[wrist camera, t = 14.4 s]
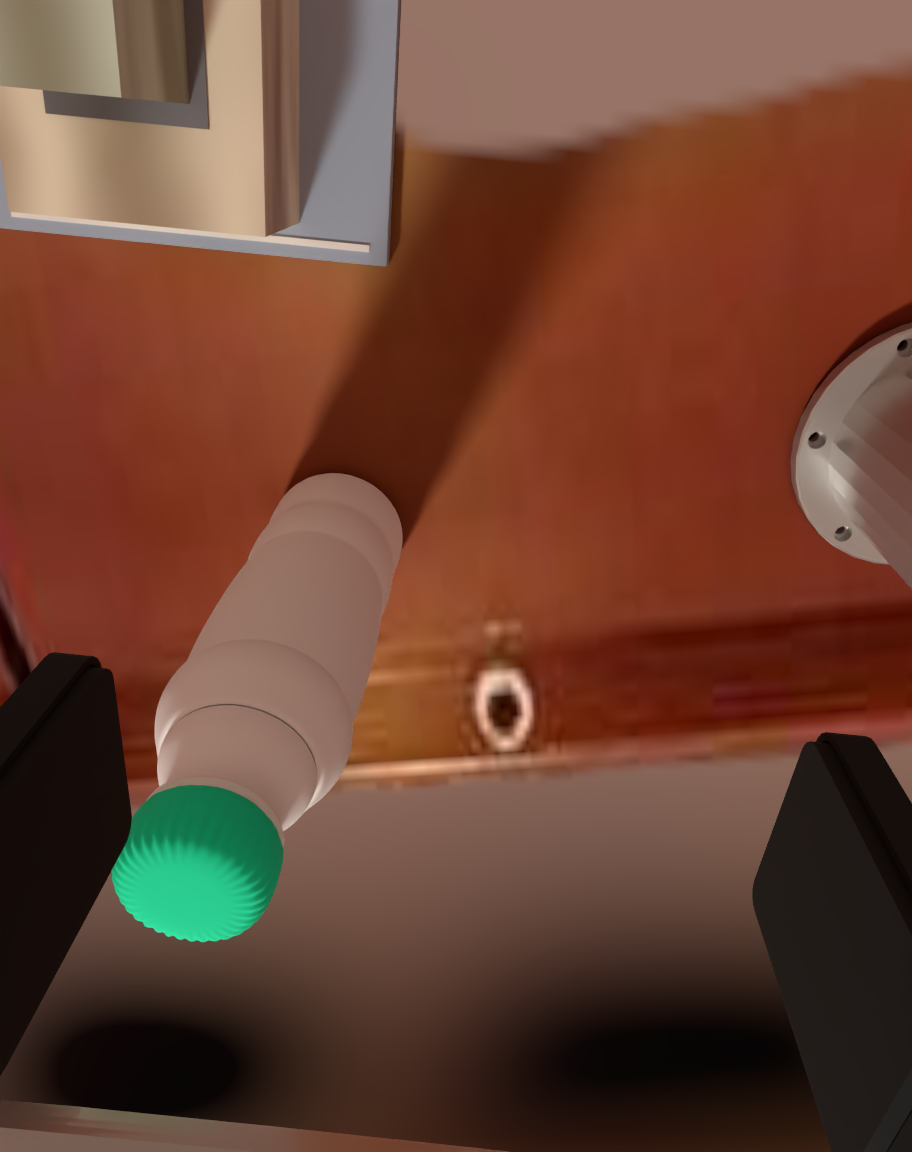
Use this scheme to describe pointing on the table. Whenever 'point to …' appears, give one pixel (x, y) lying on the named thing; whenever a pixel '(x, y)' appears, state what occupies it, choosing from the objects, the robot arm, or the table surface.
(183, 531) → the table surface
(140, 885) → the water bottle
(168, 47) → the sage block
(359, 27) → the board
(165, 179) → the plinth
